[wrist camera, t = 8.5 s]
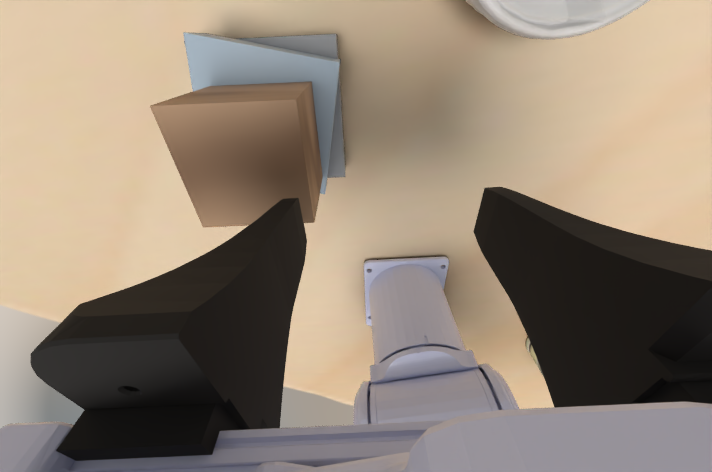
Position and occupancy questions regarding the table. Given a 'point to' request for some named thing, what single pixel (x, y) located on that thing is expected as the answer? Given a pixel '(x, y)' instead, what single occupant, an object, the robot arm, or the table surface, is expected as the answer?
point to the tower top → (267, 75)
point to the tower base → (329, 48)
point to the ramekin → (553, 15)
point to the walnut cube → (244, 149)
